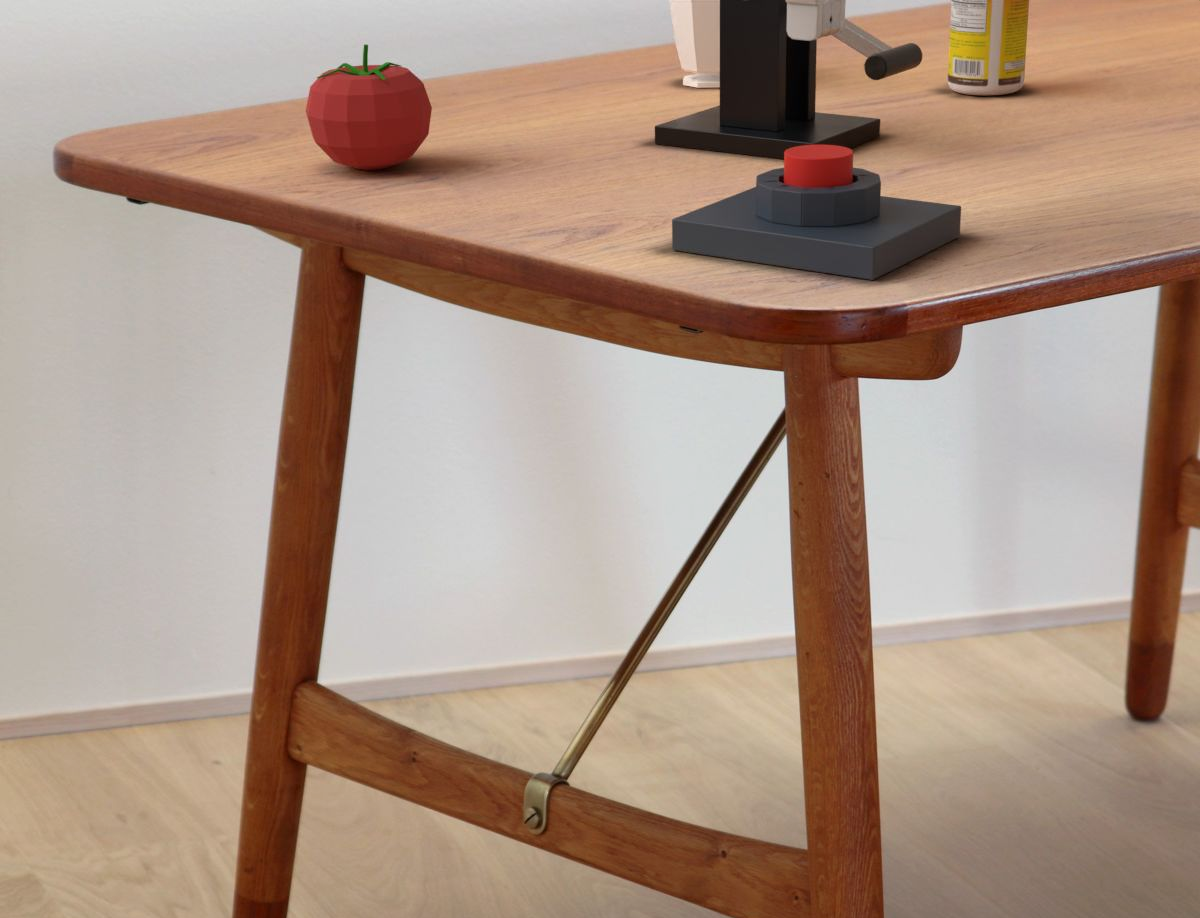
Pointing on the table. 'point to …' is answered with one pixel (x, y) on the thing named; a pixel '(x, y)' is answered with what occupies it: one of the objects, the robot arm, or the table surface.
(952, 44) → the supplement bottle
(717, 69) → the cup
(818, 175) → the button
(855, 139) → the bracket
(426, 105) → the tomato
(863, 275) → the block
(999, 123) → the table surface
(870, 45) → the lever
